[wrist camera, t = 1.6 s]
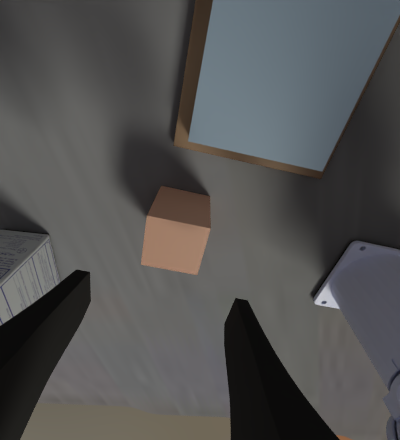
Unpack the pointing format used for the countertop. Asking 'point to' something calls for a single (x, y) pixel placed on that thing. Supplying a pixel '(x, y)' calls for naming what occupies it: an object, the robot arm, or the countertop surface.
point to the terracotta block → (176, 230)
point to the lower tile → (190, 90)
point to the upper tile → (286, 74)
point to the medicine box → (24, 271)
